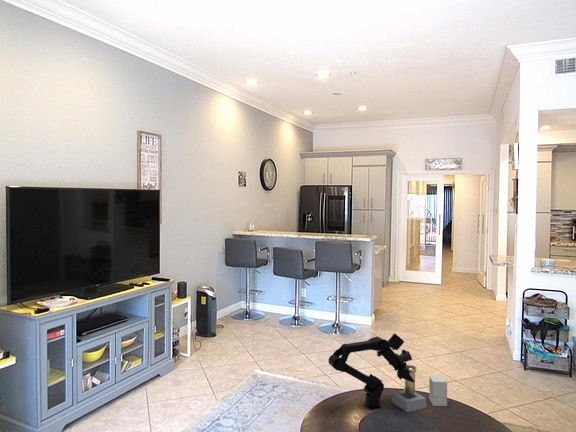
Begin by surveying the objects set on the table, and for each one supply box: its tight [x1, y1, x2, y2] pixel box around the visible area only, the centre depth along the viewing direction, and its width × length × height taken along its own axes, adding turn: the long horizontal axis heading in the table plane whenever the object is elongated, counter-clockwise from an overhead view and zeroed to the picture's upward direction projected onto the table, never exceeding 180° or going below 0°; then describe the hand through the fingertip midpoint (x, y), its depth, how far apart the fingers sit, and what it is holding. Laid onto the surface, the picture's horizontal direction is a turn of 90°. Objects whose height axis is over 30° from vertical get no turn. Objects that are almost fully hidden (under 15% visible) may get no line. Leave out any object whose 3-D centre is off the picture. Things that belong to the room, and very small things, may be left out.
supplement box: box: [428, 375, 448, 407], centre depth 212 cm, size 7×7×13 cm
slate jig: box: [391, 389, 427, 413], centre depth 210 cm, size 12×12×5 cm
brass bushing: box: [404, 364, 417, 395], centre depth 209 cm, size 6×6×13 cm
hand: (412, 379), depth 209 cm, fingers closed on brass bushing, 5 cm apart
